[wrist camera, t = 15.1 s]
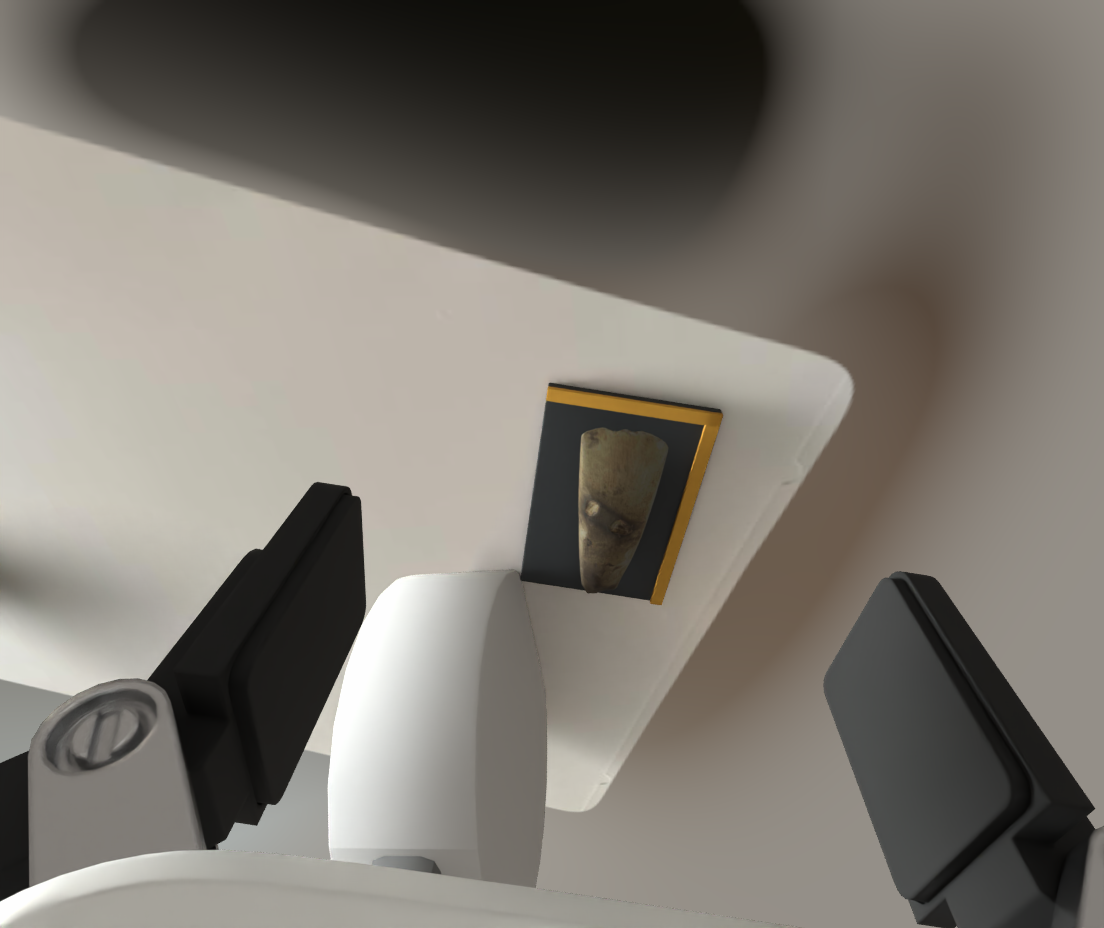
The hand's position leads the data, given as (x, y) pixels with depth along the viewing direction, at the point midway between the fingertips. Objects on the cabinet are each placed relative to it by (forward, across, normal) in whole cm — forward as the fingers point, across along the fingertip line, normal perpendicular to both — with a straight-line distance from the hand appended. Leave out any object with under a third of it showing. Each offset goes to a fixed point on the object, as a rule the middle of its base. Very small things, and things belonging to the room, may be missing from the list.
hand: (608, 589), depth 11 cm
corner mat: (+23, -3, +14) cm, 27 cm away
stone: (+23, -2, +14) cm, 27 cm away
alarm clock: (+23, +4, +29) cm, 37 cm away
